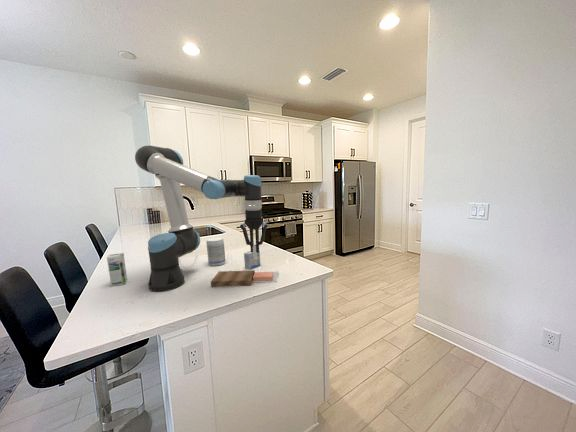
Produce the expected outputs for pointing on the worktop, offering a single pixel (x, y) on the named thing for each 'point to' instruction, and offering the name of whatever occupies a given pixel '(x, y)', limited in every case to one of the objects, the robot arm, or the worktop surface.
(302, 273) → the worktop surface
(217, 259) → the supplement tub
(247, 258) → the medicine box
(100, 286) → the worktop surface
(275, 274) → the mat
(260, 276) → the card
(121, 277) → the syrup box
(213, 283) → the deck
